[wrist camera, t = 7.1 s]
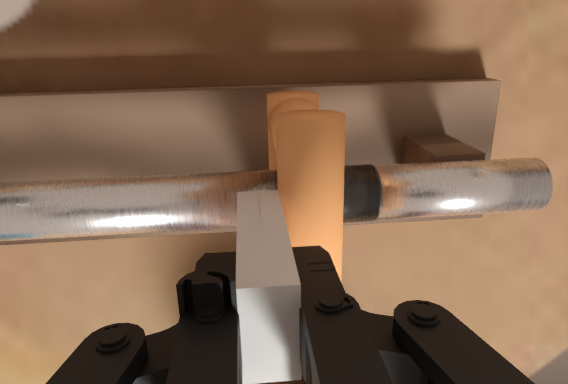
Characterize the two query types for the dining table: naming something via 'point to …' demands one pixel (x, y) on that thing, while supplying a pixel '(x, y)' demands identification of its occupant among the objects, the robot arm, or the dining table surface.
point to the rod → (224, 186)
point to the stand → (234, 131)
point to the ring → (309, 169)
